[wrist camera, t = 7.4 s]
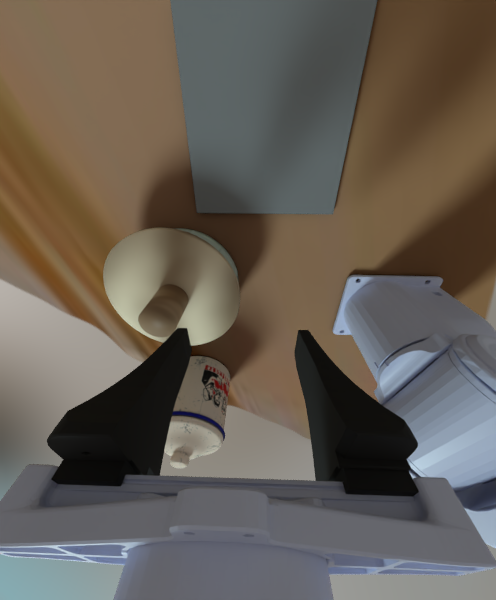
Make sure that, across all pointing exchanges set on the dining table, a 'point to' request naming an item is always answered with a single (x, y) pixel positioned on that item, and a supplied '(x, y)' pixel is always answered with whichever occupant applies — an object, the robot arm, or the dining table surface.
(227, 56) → the mat
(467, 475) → the robot arm
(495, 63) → the dining table surface
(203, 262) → the lid
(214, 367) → the teacup with lid
